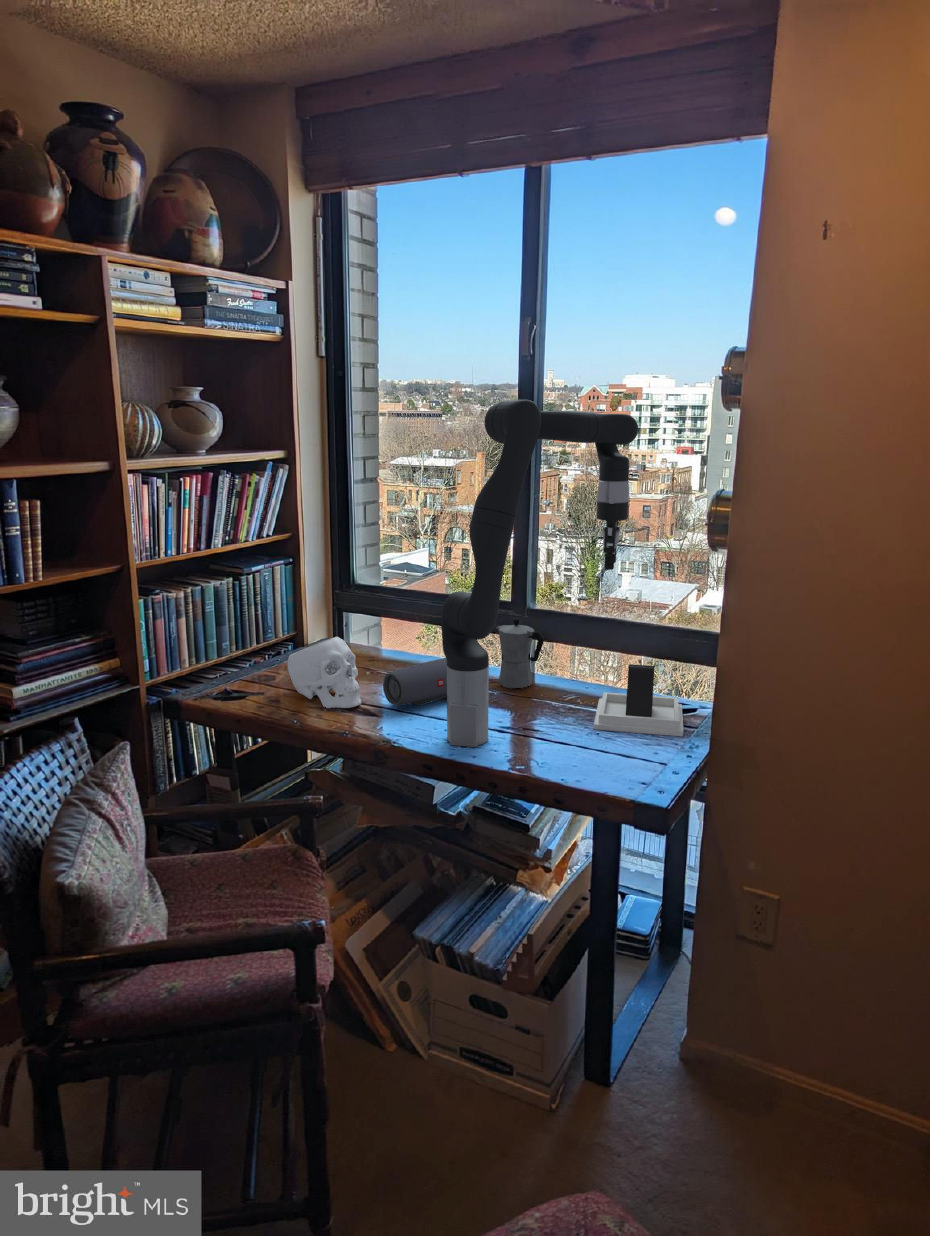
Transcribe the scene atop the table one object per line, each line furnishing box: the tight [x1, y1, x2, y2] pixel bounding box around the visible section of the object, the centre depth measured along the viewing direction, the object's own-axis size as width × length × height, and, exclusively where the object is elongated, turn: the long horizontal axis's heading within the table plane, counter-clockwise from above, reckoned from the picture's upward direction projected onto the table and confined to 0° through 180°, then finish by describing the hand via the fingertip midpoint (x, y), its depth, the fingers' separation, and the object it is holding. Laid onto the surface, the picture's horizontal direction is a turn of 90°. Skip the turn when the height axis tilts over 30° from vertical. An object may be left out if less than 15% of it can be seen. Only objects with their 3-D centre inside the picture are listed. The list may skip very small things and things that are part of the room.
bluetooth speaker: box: [382, 657, 447, 707], centre depth 212 cm, size 23×9×10 cm, turn 129°
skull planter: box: [287, 636, 362, 709], centre depth 212 cm, size 14×20×19 cm
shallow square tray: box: [593, 691, 684, 737], centre depth 200 cm, size 18×20×3 cm
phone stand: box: [626, 663, 656, 718], centre depth 198 cm, size 9×6×12 cm, turn 166°
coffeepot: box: [495, 617, 545, 690], centre depth 223 cm, size 15×9×18 cm, turn 49°
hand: (610, 566), depth 206 cm, fingers open, 8 cm apart
